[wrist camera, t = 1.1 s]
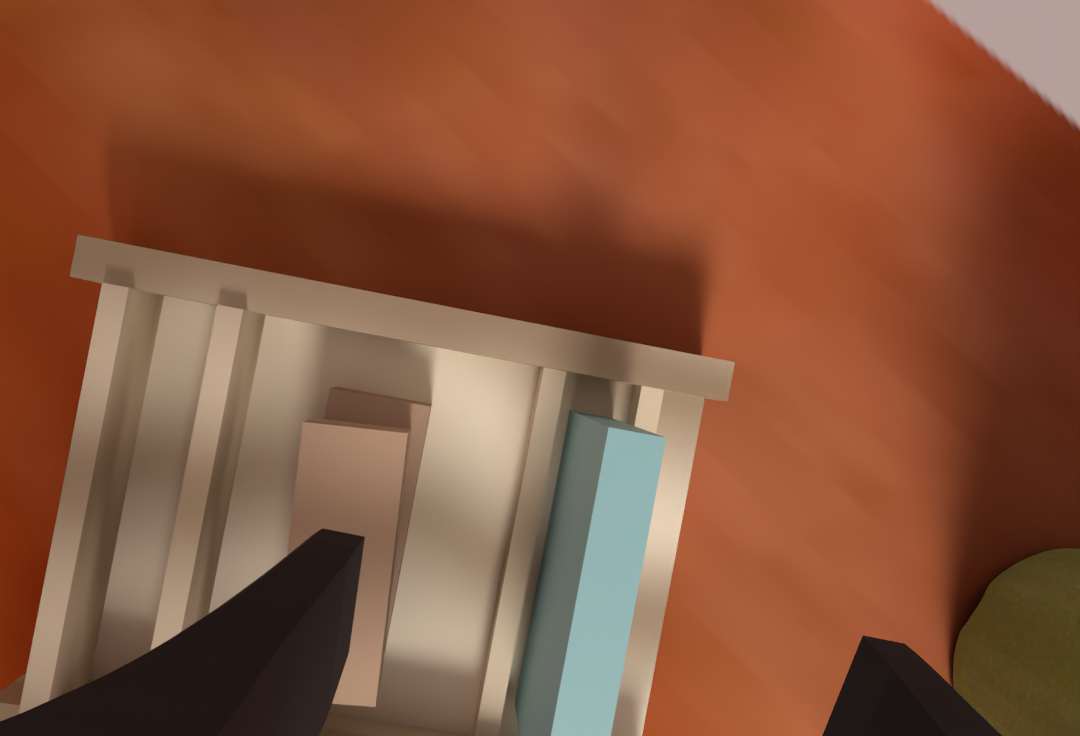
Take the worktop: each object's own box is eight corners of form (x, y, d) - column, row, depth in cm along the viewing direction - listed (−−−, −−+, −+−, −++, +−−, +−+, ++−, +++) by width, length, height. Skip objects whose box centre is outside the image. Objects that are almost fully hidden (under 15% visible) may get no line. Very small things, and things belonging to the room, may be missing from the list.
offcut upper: (380, 684, 22) (375, 707, 20) (282, 676, 21) (270, 698, 20) (410, 428, 22) (407, 433, 20) (312, 418, 21) (302, 421, 20)
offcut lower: (382, 664, 23) (377, 684, 22) (287, 649, 23) (276, 668, 21) (432, 404, 23) (430, 406, 22) (338, 386, 23) (330, 388, 21)
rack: (623, 777, 25) (650, 844, 21) (40, 693, 23) (-31, 751, 20) (701, 362, 25) (740, 362, 21) (126, 250, 23) (69, 232, 20)
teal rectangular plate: (558, 710, 23) (593, 829, 17) (514, 703, 23) (534, 821, 17) (612, 418, 23) (666, 437, 17) (569, 410, 23) (608, 426, 17)
